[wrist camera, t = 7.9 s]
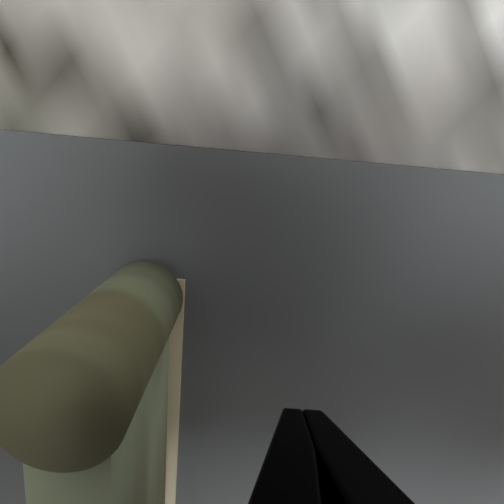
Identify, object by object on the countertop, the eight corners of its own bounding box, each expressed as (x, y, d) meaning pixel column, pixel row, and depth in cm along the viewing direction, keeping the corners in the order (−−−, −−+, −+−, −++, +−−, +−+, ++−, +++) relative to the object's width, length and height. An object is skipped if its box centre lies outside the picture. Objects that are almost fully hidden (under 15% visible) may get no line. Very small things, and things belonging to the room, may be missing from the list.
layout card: (-220, 685, 12) (-240, 705, 12) (-397, 95, 8) (-439, 90, 8) (483, 702, 13) (492, 722, 13) (654, 188, 9) (677, 189, 9)
